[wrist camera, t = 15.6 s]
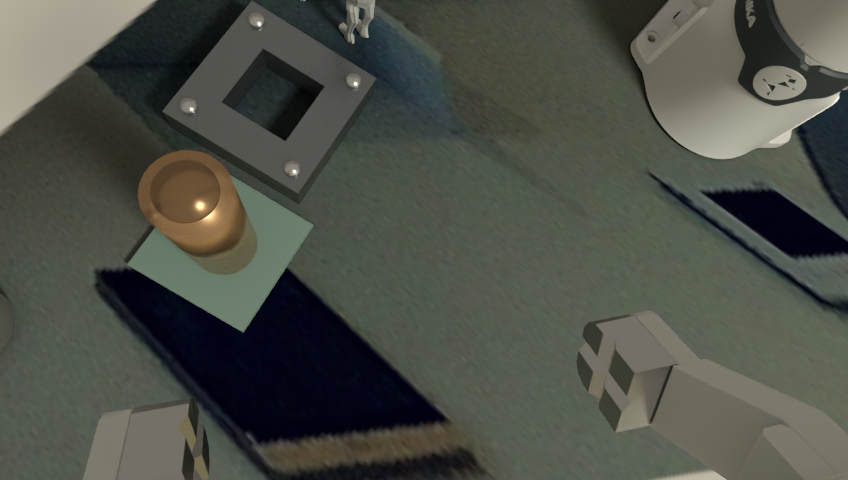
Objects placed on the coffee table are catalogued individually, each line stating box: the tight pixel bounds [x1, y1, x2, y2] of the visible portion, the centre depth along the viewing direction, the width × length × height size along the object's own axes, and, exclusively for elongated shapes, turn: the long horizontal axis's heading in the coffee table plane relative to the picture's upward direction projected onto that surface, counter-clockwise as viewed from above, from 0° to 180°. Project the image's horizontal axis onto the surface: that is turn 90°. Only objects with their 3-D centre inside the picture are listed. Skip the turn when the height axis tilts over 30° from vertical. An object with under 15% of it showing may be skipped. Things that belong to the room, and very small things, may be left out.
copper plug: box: [138, 150, 258, 275], centre depth 37 cm, size 5×5×13 cm
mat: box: [127, 174, 313, 332], centre depth 43 cm, size 10×10×1 cm
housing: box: [162, 1, 376, 204], centre depth 45 cm, size 12×12×3 cm
